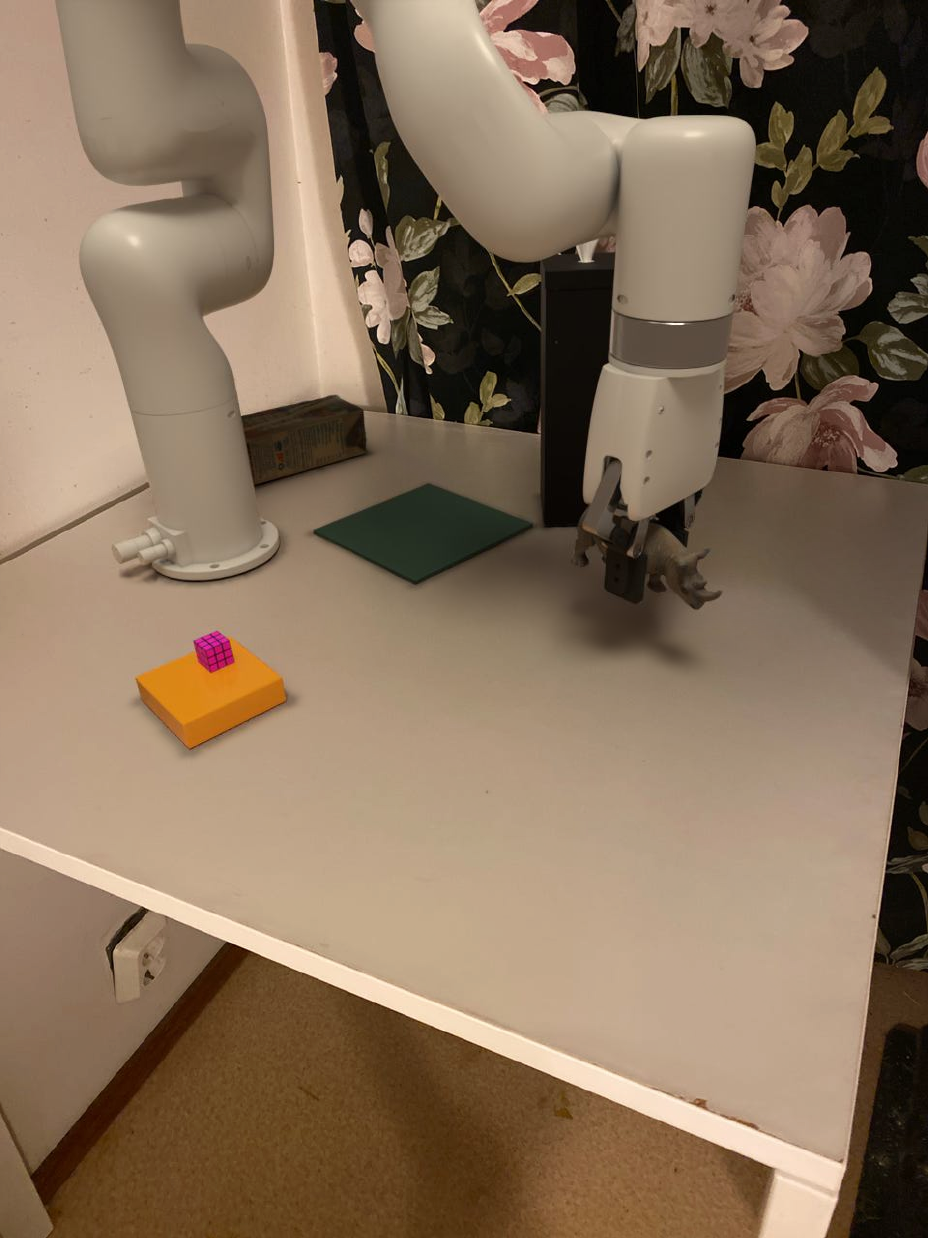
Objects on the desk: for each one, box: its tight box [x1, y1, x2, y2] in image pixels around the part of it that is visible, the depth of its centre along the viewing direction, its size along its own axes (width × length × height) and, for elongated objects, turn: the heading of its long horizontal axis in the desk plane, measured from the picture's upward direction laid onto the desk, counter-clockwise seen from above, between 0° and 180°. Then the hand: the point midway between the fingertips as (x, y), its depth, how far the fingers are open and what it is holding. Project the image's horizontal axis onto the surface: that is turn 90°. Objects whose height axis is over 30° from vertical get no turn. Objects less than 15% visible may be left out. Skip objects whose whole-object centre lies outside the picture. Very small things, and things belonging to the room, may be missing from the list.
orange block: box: [135, 630, 287, 749], centre depth 64 cm, size 8×8×4 cm
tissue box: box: [539, 238, 616, 527], centre depth 84 cm, size 8×8×28 cm
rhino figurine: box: [570, 505, 723, 611], centre depth 64 cm, size 4×14×6 cm, turn 36°
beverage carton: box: [241, 394, 368, 486], centre depth 104 cm, size 8×19×7 cm, turn 127°
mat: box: [313, 482, 534, 585], centre depth 89 cm, size 16×16×1 cm
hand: (643, 582), depth 65 cm, fingers closed on rhino figurine, 4 cm apart
